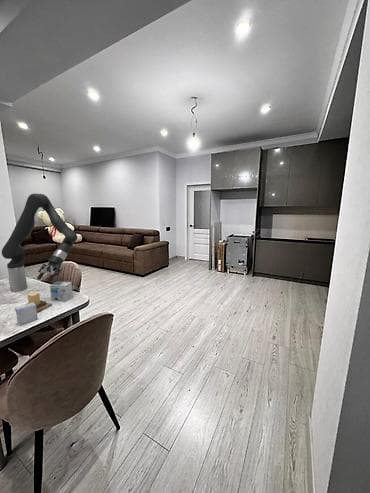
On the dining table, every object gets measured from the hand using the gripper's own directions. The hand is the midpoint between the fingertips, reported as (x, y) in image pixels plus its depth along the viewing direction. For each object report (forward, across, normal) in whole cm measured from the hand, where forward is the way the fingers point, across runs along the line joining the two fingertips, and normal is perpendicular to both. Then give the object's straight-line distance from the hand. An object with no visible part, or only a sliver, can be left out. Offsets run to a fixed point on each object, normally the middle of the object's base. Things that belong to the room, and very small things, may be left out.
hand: (43, 280), depth 123 cm
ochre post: (+15, 0, +5) cm, 16 cm away
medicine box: (+24, +9, -2) cm, 26 cm away
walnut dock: (+16, 0, +6) cm, 17 cm away
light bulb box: (+5, +4, +17) cm, 18 cm away
